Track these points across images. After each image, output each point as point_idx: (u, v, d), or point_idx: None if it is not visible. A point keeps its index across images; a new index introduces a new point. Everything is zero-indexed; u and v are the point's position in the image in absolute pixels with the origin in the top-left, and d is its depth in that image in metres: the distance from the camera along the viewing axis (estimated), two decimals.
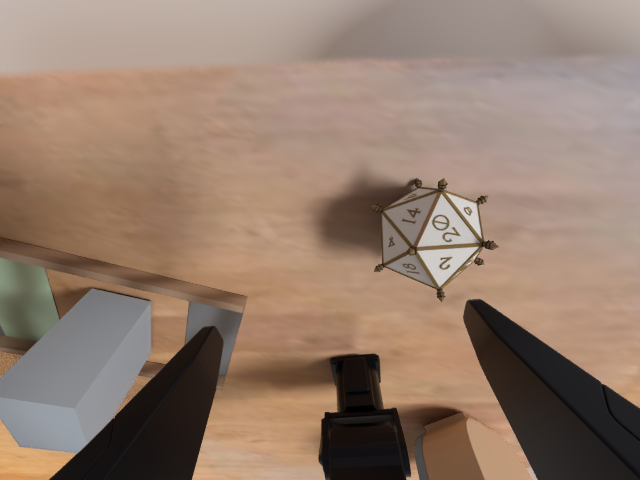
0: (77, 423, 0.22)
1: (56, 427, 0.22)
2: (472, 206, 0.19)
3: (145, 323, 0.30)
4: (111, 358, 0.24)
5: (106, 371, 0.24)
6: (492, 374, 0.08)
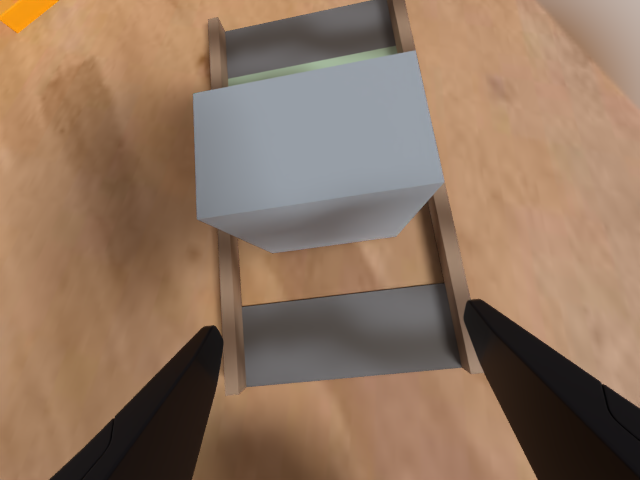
0: (371, 189, 0.10)
1: (329, 153, 0.11)
2: None
3: (366, 238, 0.20)
4: (409, 214, 0.14)
5: (401, 211, 0.14)
6: (492, 374, 0.08)
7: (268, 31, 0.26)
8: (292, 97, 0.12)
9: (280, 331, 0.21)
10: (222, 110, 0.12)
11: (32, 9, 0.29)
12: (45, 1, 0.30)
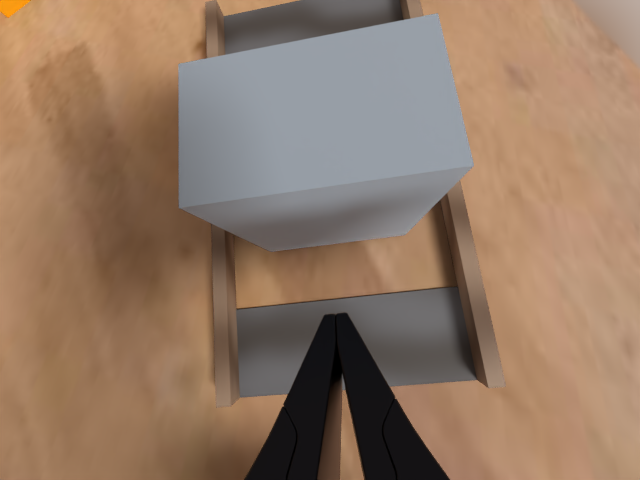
0: (385, 173, 0.09)
1: (336, 131, 0.09)
2: None
3: (372, 236, 0.18)
4: (424, 208, 0.13)
5: (415, 204, 0.12)
6: None
7: (269, 16, 0.25)
8: (293, 67, 0.10)
9: (277, 337, 0.19)
10: (211, 82, 0.10)
11: None
12: None
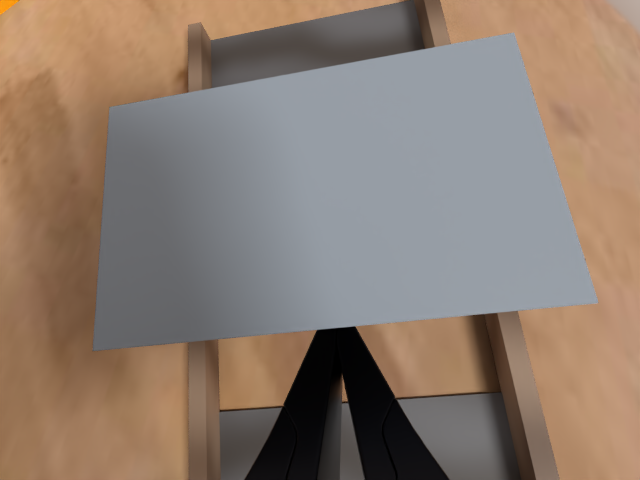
0: (439, 309, 0.05)
1: (353, 228, 0.06)
2: None
3: None
4: None
5: None
6: None
7: (264, 40, 0.21)
8: (282, 117, 0.06)
9: None
10: (156, 138, 0.07)
11: None
12: (2, 1, 0.24)
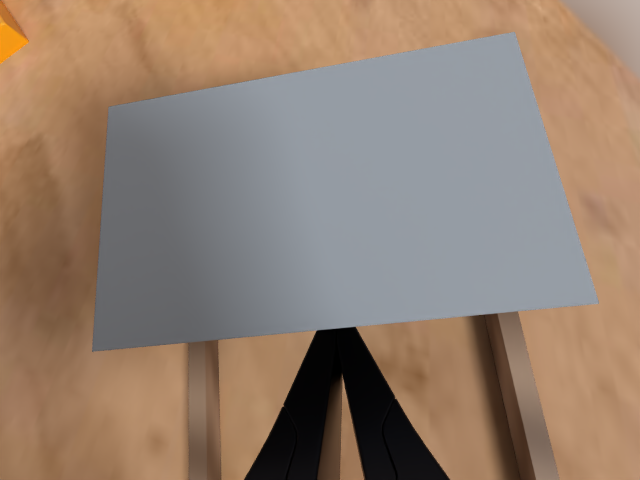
0: (439, 309, 0.05)
1: (353, 228, 0.06)
2: None
3: None
4: None
5: None
6: None
7: None
8: (282, 117, 0.06)
9: None
10: (156, 138, 0.07)
11: None
12: None
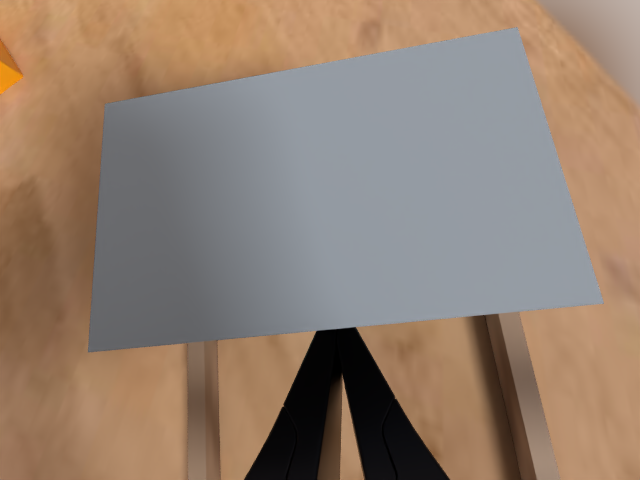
0: (441, 310, 0.05)
1: (353, 227, 0.05)
2: None
3: None
4: None
5: None
6: None
7: None
8: (281, 114, 0.06)
9: None
10: (153, 135, 0.06)
11: None
12: None
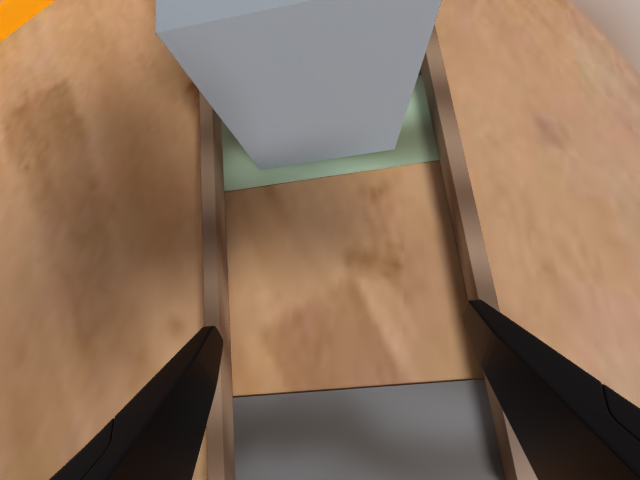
0: None
1: None
2: None
3: (361, 146, 0.18)
4: (409, 79, 0.13)
5: (399, 66, 0.12)
6: (492, 374, 0.08)
7: None
8: None
9: (279, 432, 0.17)
10: None
11: (7, 21, 0.25)
12: (24, 12, 0.26)
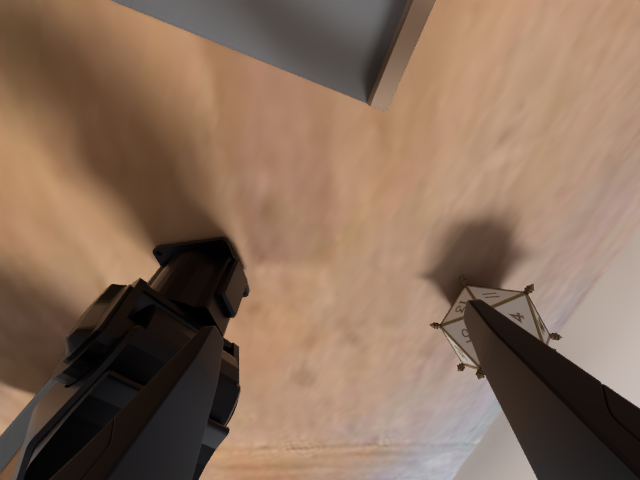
0: None
1: None
2: None
3: None
4: None
5: None
6: (492, 374, 0.08)
7: None
8: None
9: None
10: None
11: None
12: None
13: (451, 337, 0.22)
